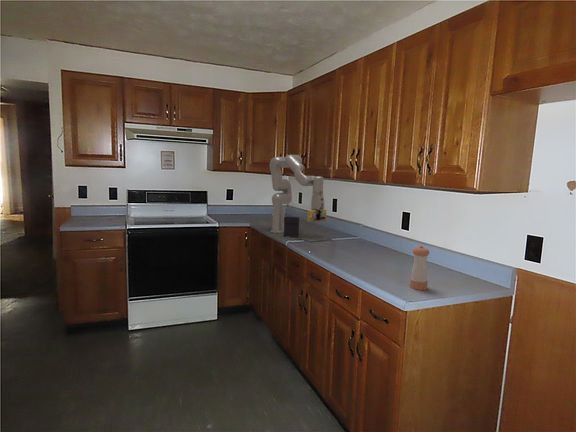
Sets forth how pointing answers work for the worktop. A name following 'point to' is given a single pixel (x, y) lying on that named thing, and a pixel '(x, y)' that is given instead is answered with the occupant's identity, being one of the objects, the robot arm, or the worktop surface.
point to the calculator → (291, 226)
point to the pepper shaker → (419, 269)
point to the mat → (316, 239)
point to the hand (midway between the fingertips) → (316, 218)
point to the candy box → (313, 216)
